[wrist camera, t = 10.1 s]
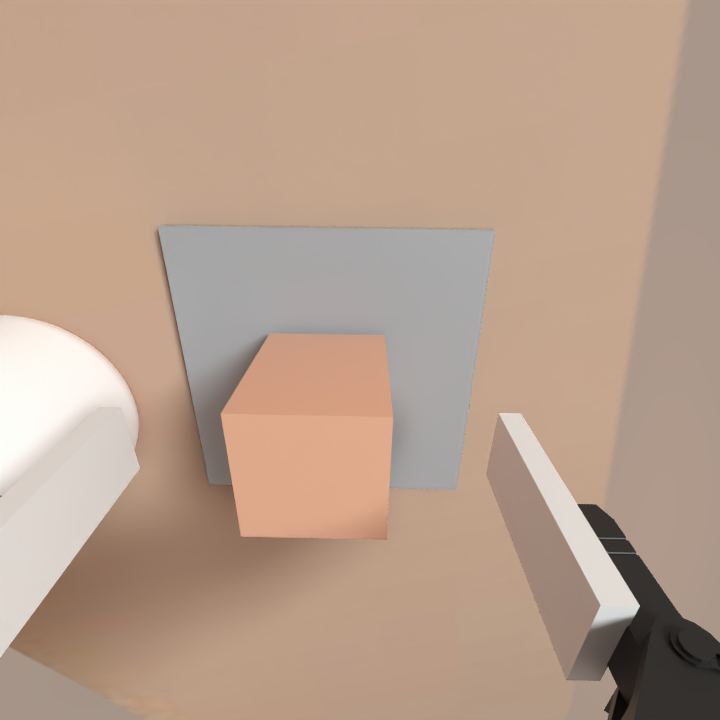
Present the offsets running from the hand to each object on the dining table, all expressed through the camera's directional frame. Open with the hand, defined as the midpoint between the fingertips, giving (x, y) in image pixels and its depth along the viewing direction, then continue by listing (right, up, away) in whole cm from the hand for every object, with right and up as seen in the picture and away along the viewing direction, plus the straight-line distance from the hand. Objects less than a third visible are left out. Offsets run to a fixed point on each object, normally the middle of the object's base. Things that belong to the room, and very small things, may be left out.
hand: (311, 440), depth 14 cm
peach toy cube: (0, +2, +5) cm, 5 cm away
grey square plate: (0, +2, +6) cm, 6 cm away
